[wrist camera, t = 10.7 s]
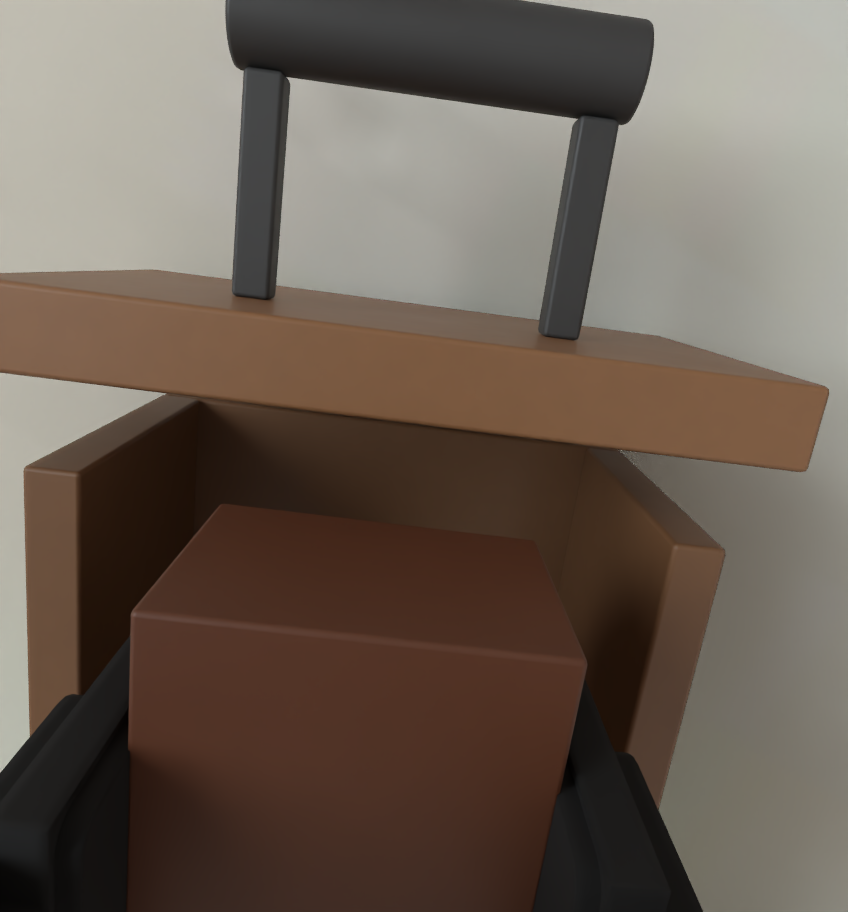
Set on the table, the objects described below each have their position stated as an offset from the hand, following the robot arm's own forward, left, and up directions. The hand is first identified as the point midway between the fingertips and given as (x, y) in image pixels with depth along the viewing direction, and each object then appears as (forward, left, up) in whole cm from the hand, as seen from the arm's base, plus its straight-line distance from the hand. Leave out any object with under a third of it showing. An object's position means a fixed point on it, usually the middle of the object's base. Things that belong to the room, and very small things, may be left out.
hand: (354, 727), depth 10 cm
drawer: (-1, 0, -8) cm, 8 cm away
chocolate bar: (0, 0, 0) cm, 0 cm away
